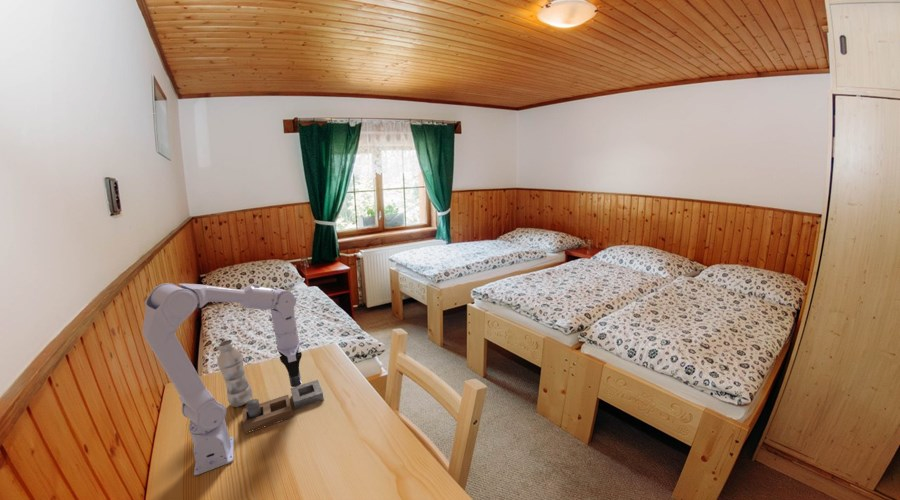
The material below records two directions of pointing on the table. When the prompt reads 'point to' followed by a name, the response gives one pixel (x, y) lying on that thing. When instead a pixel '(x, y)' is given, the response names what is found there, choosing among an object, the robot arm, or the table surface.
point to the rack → (265, 413)
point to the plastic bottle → (234, 374)
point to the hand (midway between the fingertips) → (293, 373)
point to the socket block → (308, 398)
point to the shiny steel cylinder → (295, 380)
